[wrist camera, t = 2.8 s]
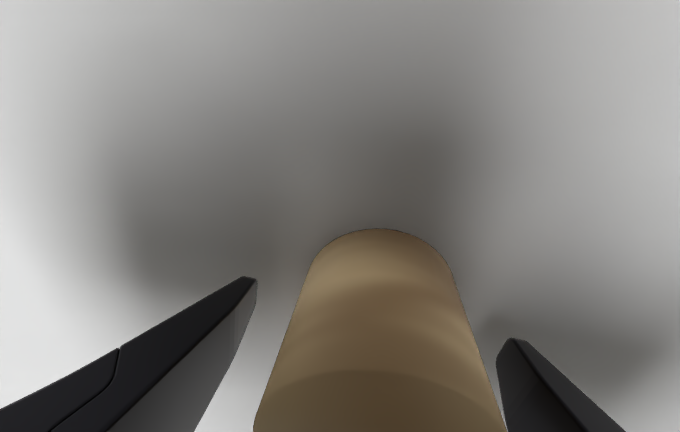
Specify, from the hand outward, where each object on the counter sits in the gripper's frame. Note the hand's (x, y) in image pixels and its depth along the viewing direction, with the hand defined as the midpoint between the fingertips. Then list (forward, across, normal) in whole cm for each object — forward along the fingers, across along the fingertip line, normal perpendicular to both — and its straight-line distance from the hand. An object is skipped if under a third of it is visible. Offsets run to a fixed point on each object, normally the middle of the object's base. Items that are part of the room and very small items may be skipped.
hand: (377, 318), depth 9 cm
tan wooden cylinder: (+1, 0, 0) cm, 1 cm away
